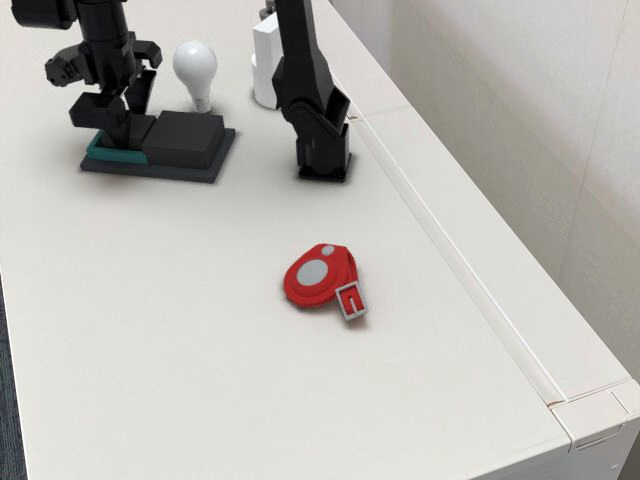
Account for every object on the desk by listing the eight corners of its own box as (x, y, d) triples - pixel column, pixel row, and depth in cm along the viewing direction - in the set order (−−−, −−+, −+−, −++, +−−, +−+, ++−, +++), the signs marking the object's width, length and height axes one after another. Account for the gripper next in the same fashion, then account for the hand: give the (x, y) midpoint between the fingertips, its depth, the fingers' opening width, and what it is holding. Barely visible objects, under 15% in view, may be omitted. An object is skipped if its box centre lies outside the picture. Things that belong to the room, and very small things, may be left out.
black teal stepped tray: (235, 134, 113) (232, 110, 110) (213, 183, 105) (208, 158, 102) (112, 123, 115) (106, 99, 112) (81, 170, 107) (73, 145, 104)
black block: (159, 133, 112) (155, 115, 109) (145, 157, 108) (141, 139, 105) (120, 130, 112) (115, 111, 110) (104, 153, 108) (99, 135, 106)
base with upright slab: (276, 73, 125) (270, -1, 116) (323, 88, 121) (321, 13, 112) (243, 99, 119) (234, 23, 110) (291, 115, 116) (286, 38, 107)
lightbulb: (221, 124, 115) (210, 54, 107) (178, 123, 115) (164, 53, 107) (226, 101, 119) (216, 32, 111) (185, 100, 119) (172, 32, 111)
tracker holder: (266, 295, 89) (302, 229, 93) (281, 317, 93) (315, 252, 97) (357, 311, 83) (391, 240, 87) (369, 334, 87) (401, 265, 91)
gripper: (74, -6, 105) (102, 98, 116) (12, 62, 92) (50, 171, 104) (152, -1, 103) (173, 104, 115) (100, 69, 91) (129, 179, 103)
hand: (131, 137), depth 109 cm, fingers open, 6 cm apart
